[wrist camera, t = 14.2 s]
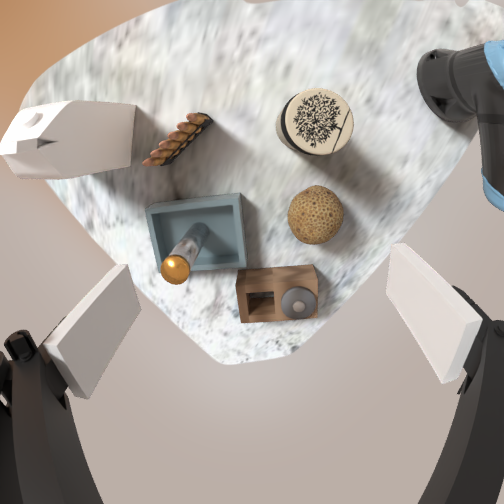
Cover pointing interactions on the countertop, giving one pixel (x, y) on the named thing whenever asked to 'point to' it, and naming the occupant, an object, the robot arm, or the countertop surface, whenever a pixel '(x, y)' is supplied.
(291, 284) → the block
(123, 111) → the milk
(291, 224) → the natural sponge
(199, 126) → the ammunition clip
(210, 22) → the countertop surface
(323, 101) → the travel mug
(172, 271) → the pin
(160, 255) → the tray
